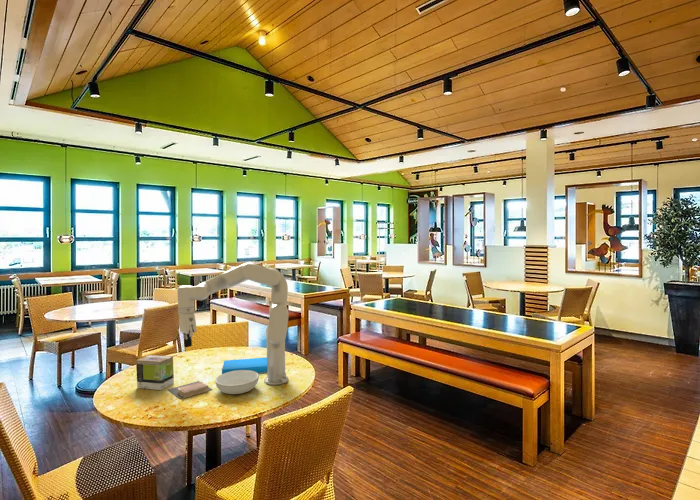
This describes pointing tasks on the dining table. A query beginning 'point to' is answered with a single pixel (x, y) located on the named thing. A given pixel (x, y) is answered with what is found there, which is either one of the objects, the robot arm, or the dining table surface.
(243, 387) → the serving bowl
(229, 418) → the dining table surface
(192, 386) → the brown wooden block
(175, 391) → the mat
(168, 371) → the tea box
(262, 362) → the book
